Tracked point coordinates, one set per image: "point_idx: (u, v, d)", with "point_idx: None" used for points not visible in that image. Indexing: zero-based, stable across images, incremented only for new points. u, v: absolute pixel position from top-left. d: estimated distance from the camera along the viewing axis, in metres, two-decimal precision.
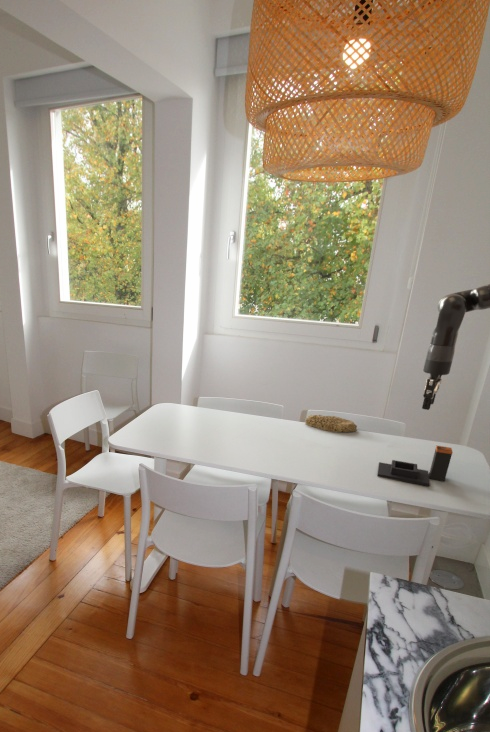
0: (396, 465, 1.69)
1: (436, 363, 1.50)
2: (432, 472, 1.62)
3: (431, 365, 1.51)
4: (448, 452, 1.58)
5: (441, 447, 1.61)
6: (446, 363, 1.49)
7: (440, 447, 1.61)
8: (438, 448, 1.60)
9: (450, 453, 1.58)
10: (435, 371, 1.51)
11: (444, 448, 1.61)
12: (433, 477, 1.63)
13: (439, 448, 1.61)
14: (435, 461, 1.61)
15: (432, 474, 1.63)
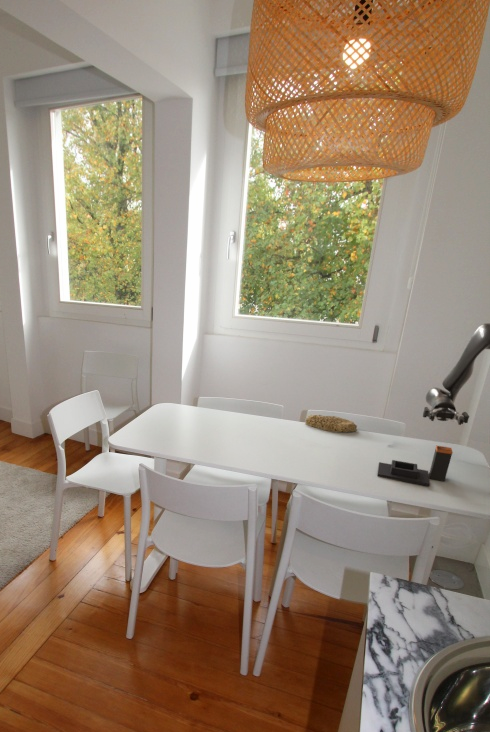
0: (396, 465, 1.69)
1: (432, 408, 1.81)
2: (432, 472, 1.62)
3: None
4: (448, 452, 1.58)
5: (441, 447, 1.61)
6: (437, 401, 1.80)
7: (440, 447, 1.61)
8: (438, 448, 1.60)
9: (450, 453, 1.58)
10: (432, 409, 1.79)
11: (444, 448, 1.61)
12: (433, 477, 1.63)
13: (439, 448, 1.61)
14: (435, 461, 1.61)
15: (432, 474, 1.63)
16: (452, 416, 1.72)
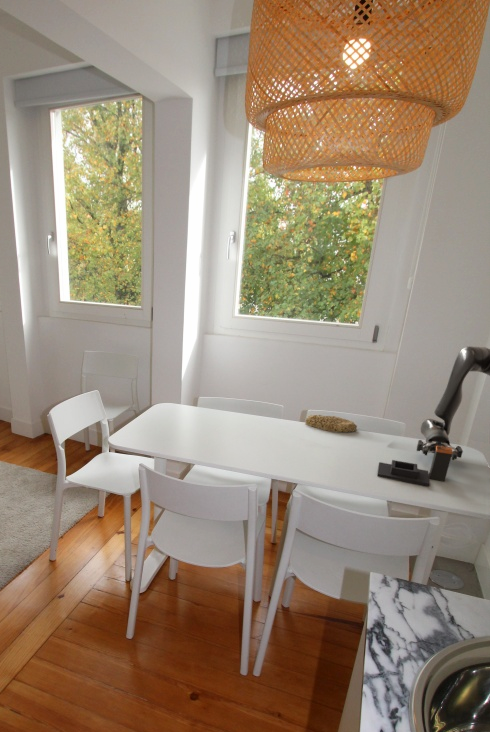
0: (396, 465, 1.69)
1: (426, 440, 1.81)
2: (432, 472, 1.62)
3: None
4: (448, 452, 1.58)
5: (441, 447, 1.61)
6: (431, 434, 1.80)
7: (440, 447, 1.61)
8: (438, 448, 1.60)
9: (450, 453, 1.58)
10: (426, 441, 1.79)
11: (444, 448, 1.61)
12: (433, 477, 1.63)
13: (439, 448, 1.61)
14: (435, 461, 1.61)
15: (432, 474, 1.63)
16: None
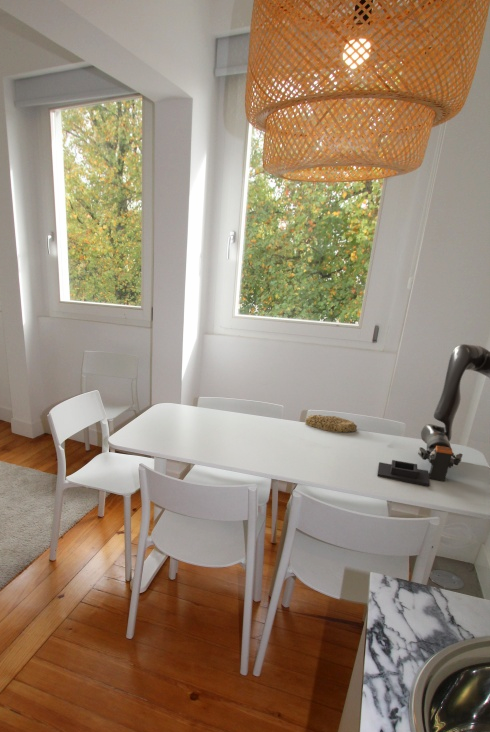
0: (396, 465, 1.69)
1: (427, 446, 1.75)
2: (432, 472, 1.62)
3: None
4: (448, 452, 1.58)
5: (441, 447, 1.61)
6: (432, 440, 1.73)
7: (440, 447, 1.61)
8: (438, 448, 1.60)
9: (450, 453, 1.58)
10: (427, 448, 1.72)
11: (444, 448, 1.61)
12: (433, 477, 1.63)
13: (439, 448, 1.60)
14: (435, 461, 1.61)
15: (432, 474, 1.63)
16: None
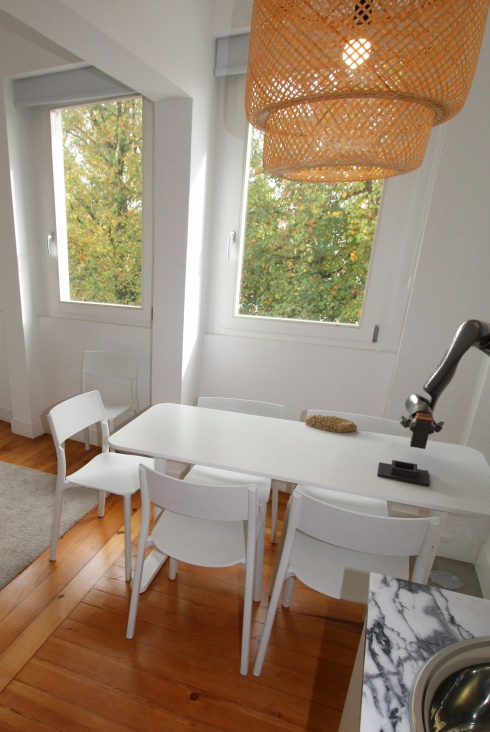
0: (396, 465, 1.69)
1: (409, 416, 1.72)
2: (413, 440, 1.60)
3: None
4: (428, 418, 1.56)
5: (422, 414, 1.59)
6: (414, 409, 1.71)
7: (421, 414, 1.59)
8: (419, 415, 1.58)
9: (430, 419, 1.55)
10: None
11: (425, 415, 1.58)
12: (414, 445, 1.60)
13: (420, 415, 1.58)
14: (415, 428, 1.58)
15: (413, 442, 1.60)
16: None
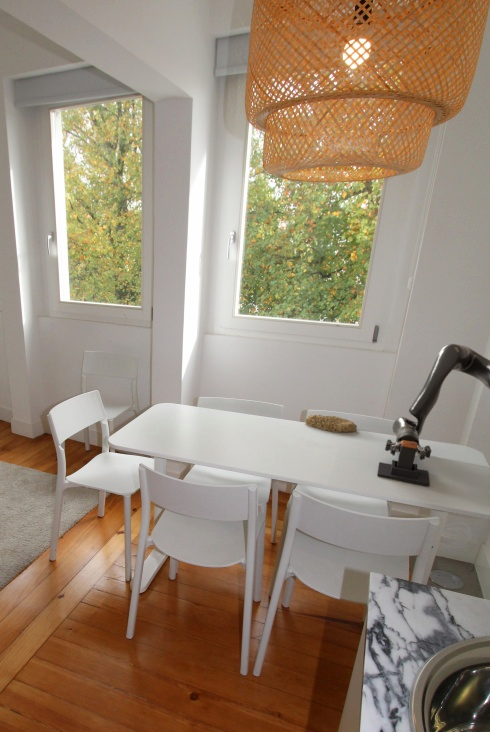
0: (396, 465, 1.69)
1: (396, 440, 1.76)
2: (398, 466, 1.64)
3: None
4: (413, 446, 1.60)
5: (407, 442, 1.63)
6: (400, 433, 1.75)
7: (406, 442, 1.63)
8: (403, 443, 1.62)
9: (415, 447, 1.60)
10: (396, 441, 1.74)
11: (409, 443, 1.62)
12: None
13: (404, 443, 1.62)
14: (401, 455, 1.62)
15: None
16: None
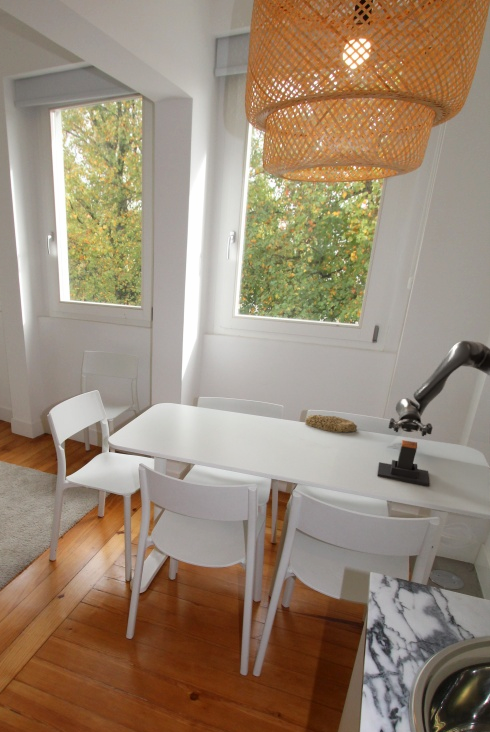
0: (396, 465, 1.69)
1: (399, 419, 1.85)
2: (398, 466, 1.64)
3: None
4: (413, 446, 1.60)
5: (407, 442, 1.63)
6: (403, 413, 1.83)
7: (406, 442, 1.63)
8: (403, 443, 1.62)
9: (415, 447, 1.60)
10: (399, 420, 1.82)
11: (409, 443, 1.62)
12: None
13: (404, 443, 1.62)
14: (401, 455, 1.62)
15: None
16: (416, 427, 1.75)
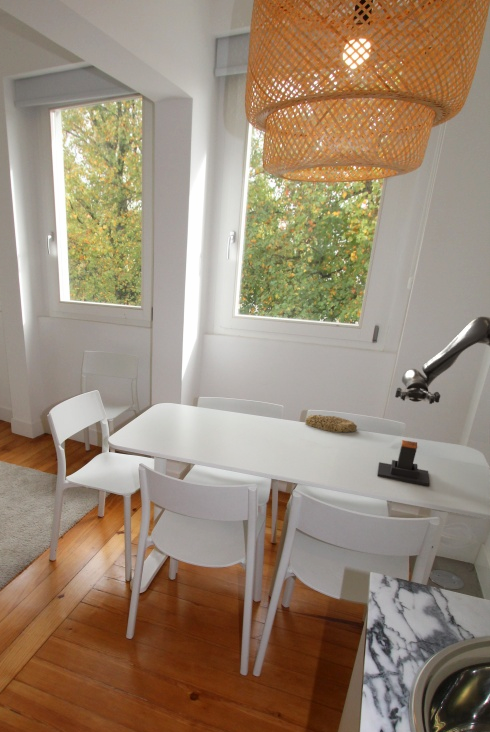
0: (396, 465, 1.69)
1: (405, 389, 1.80)
2: (398, 466, 1.64)
3: None
4: (413, 446, 1.60)
5: (407, 442, 1.63)
6: (410, 382, 1.79)
7: (406, 442, 1.63)
8: (403, 443, 1.62)
9: (415, 447, 1.60)
10: (405, 389, 1.78)
11: (409, 443, 1.62)
12: None
13: (404, 443, 1.62)
14: (401, 455, 1.62)
15: None
16: (424, 396, 1.71)
